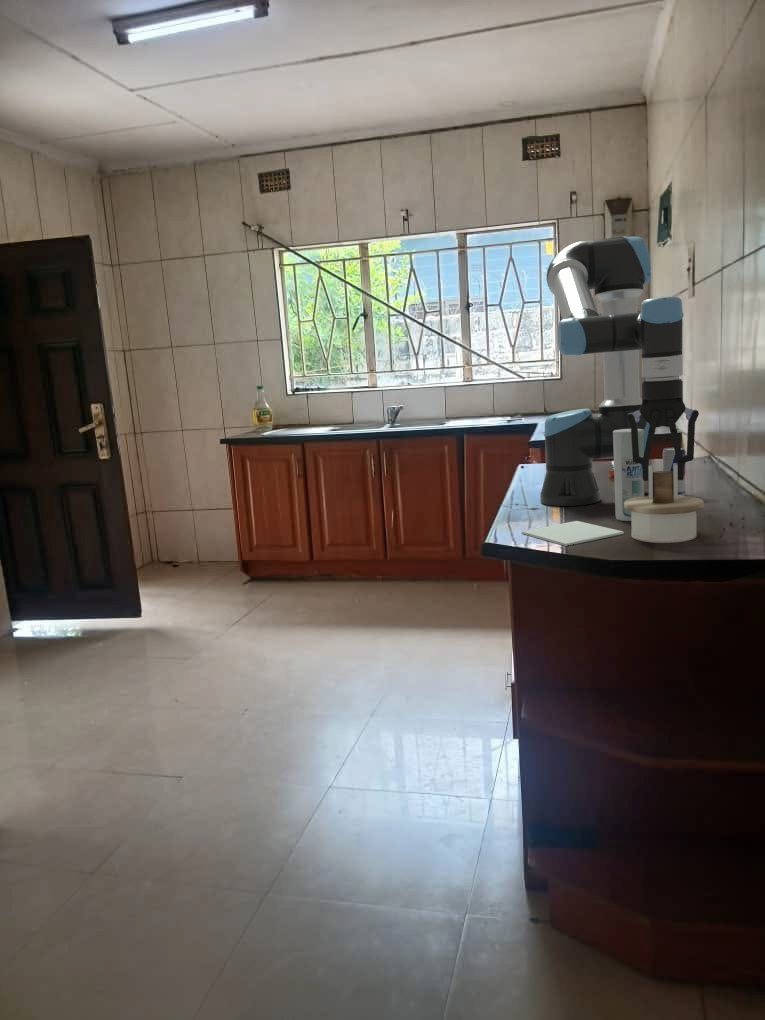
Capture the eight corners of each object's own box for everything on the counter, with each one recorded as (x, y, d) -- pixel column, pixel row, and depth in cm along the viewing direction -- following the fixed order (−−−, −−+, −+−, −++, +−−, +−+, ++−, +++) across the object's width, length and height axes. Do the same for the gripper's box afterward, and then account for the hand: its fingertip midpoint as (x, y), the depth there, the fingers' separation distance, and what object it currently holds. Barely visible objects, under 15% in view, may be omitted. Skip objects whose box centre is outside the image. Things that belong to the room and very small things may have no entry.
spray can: (634, 513, 174) (632, 428, 170) (651, 518, 168) (649, 429, 164) (609, 517, 172) (607, 430, 169) (625, 522, 166) (623, 432, 163)
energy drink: (687, 496, 188) (687, 449, 186) (665, 497, 189) (664, 450, 187) (683, 493, 194) (682, 446, 191) (661, 494, 195) (660, 448, 192)
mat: (522, 533, 164) (521, 531, 163) (576, 522, 170) (576, 520, 170) (566, 546, 150) (566, 543, 150) (623, 533, 156) (623, 531, 156)
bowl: (618, 535, 155) (617, 507, 154) (663, 525, 160) (663, 498, 159) (663, 546, 144) (663, 515, 143) (710, 535, 149) (710, 506, 148)
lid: (608, 507, 155) (607, 473, 153) (662, 496, 161) (662, 464, 159) (663, 517, 141) (663, 481, 140) (720, 506, 147) (720, 470, 146)
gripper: (615, 383, 146) (618, 500, 150) (710, 376, 140) (710, 499, 144) (617, 381, 153) (619, 493, 157) (708, 375, 147) (707, 492, 151)
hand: (663, 496), depth 151 cm, fingers closed on lid, 4 cm apart
